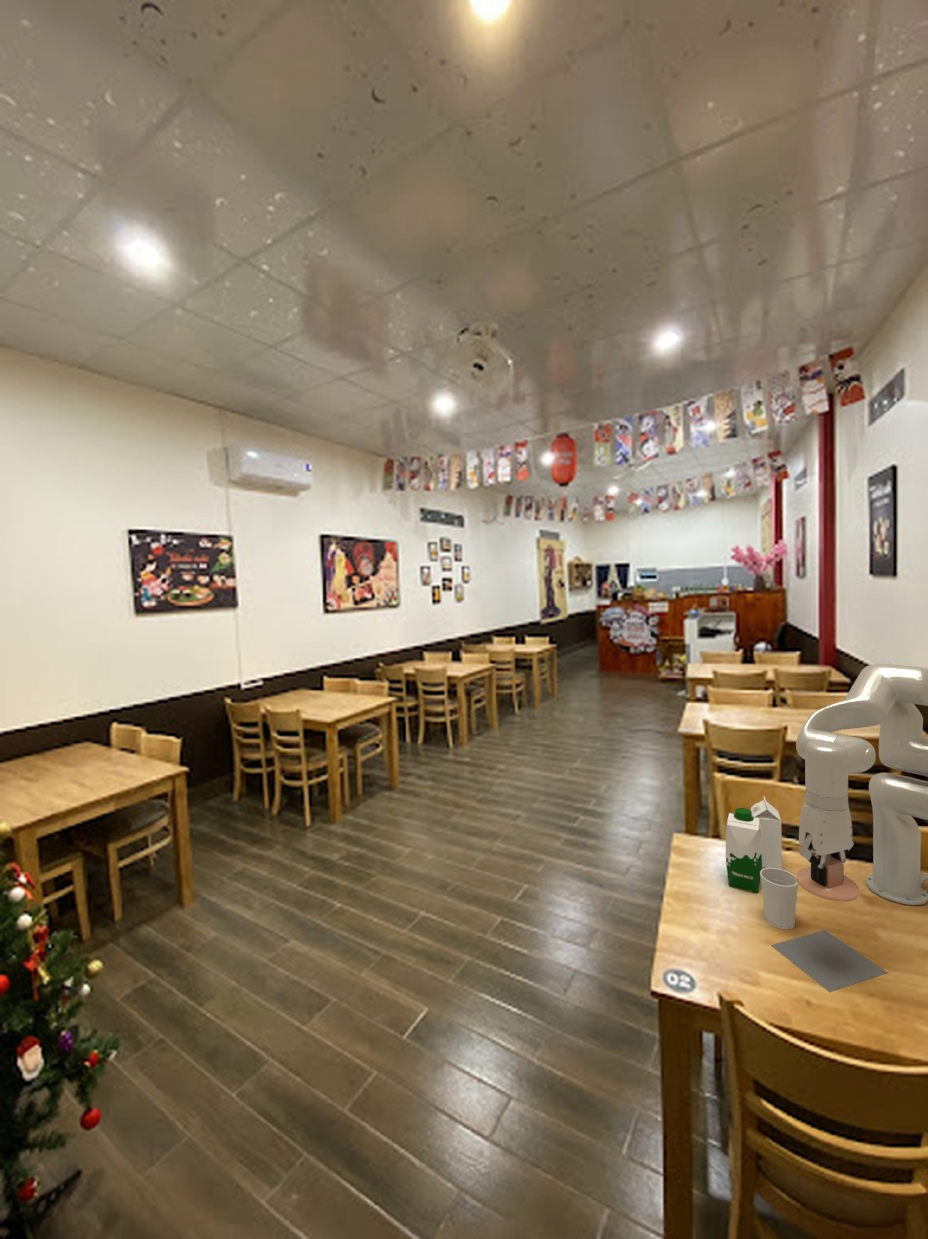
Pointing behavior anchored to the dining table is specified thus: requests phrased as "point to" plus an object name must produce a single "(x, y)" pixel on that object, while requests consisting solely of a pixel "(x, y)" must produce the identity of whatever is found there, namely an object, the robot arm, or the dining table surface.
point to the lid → (830, 882)
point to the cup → (779, 897)
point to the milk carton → (769, 834)
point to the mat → (828, 960)
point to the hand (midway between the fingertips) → (827, 879)
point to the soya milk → (743, 850)
